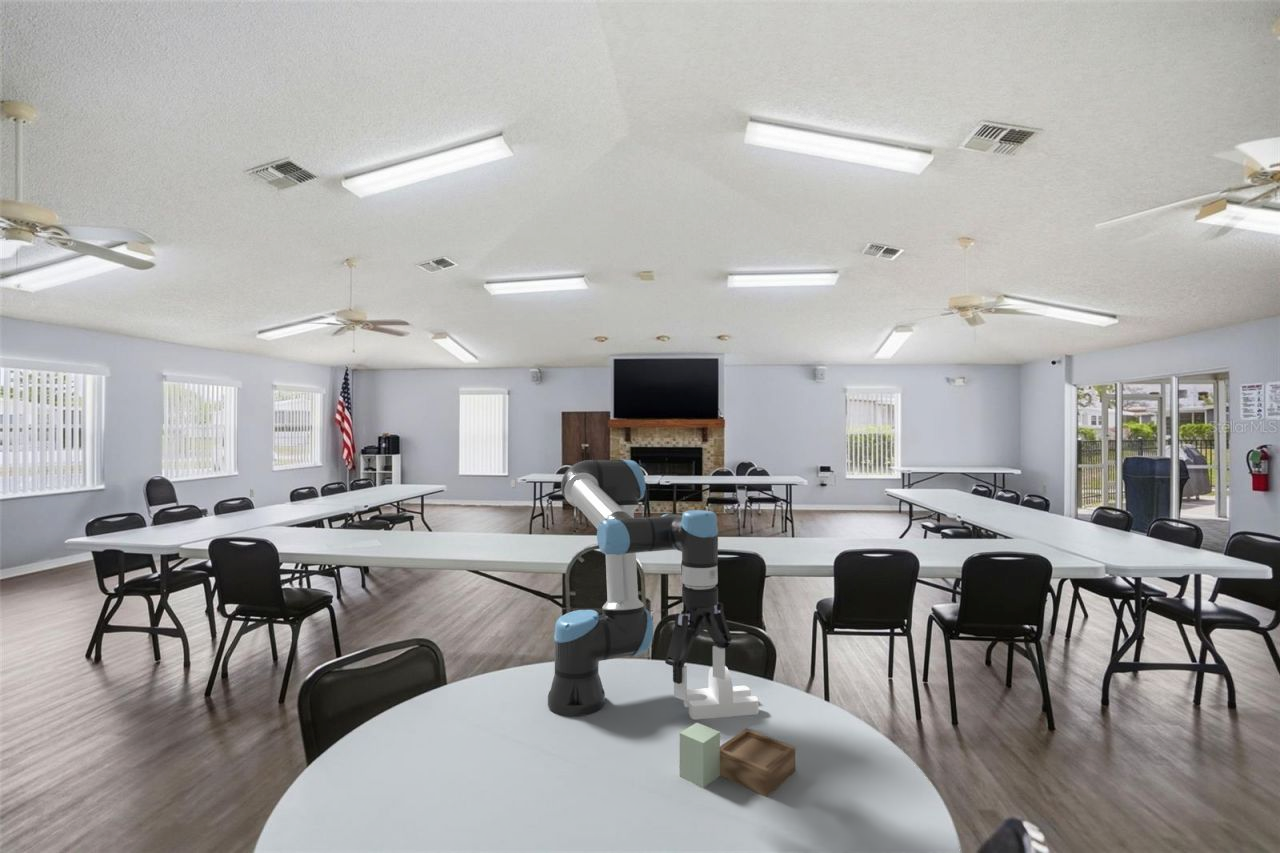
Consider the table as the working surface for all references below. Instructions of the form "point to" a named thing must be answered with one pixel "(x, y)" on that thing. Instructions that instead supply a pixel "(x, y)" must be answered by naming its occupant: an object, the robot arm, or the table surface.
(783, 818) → the table surface
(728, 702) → the white slotted block
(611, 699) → the table surface
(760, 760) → the brown crate
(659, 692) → the table surface
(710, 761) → the green block
